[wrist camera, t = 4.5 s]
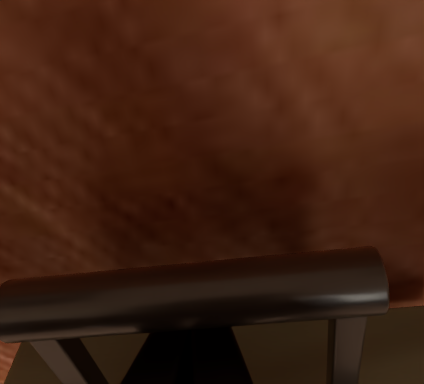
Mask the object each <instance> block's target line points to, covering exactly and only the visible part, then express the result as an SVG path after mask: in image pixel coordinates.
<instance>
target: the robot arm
mask: <svg viewBox="0 0 424 384" xmlns="http://www.w3.org/2000/svg"><path fill="white" fill-rule="evenodd" d="M120 384H253V381H252V379H251V376H250V374H249V371H248V368H247V366H246V363H245V360H244V358H243V355H242V353H241V350H240V347H239V345H238V342H237V340H236V337H235V334H234V332H233V329H232V327H221V328H208V329H194V330H181V331H167V332H154V333H149V335H148V337H147V338H146V340H145V342H144V343H143V345H142V347H141V349H140V350H139V352H138V354H137V356H136V357H135V359H134V361H133V363H132V364H131V366H130V368H129V370H128V371H127V373H126V375H125V376H124V378H123V380H122V382H121V383H120Z"/></svg>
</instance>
